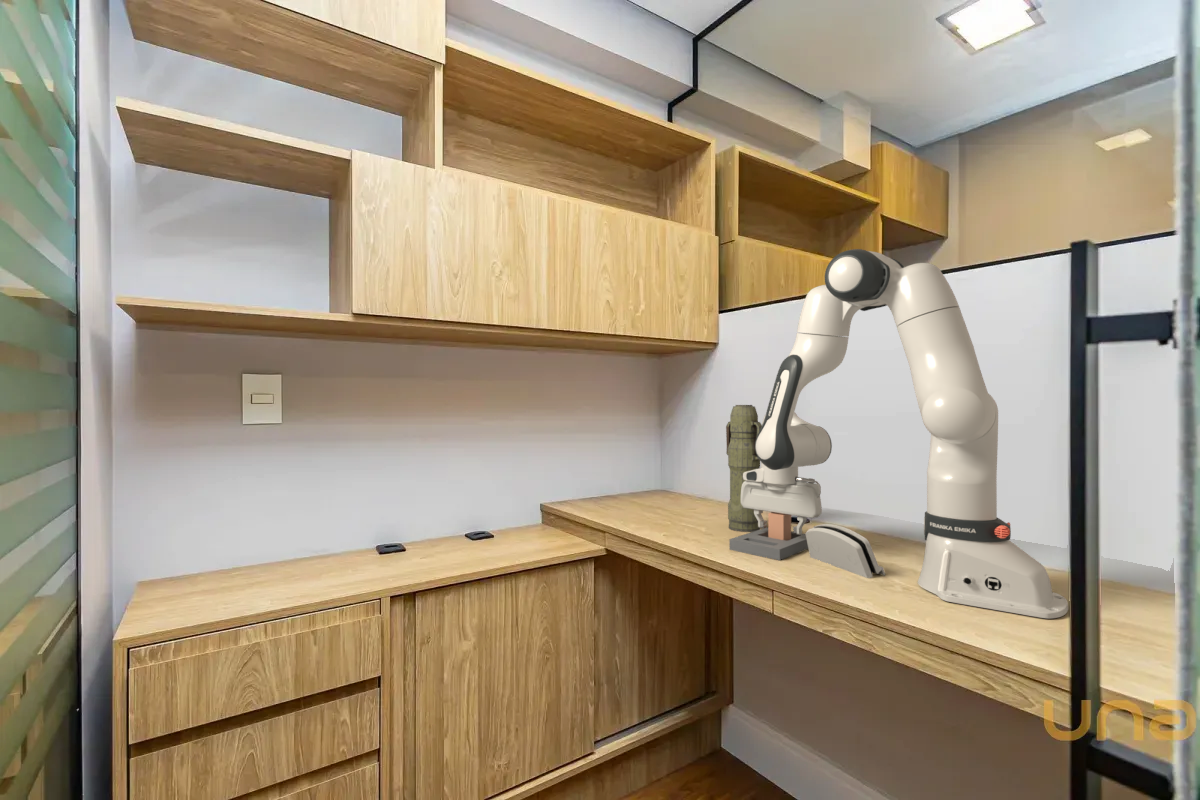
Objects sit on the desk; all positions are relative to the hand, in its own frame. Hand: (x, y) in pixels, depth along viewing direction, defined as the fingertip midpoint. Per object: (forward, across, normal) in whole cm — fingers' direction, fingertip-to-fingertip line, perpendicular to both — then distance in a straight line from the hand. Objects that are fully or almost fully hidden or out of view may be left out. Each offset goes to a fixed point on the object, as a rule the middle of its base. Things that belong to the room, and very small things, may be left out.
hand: (779, 530), depth 136 cm
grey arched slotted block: (+4, -18, +7) cm, 20 cm away
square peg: (+4, 0, 0) cm, 4 cm away
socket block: (+4, 0, +3) cm, 5 cm away
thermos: (+4, +16, -10) cm, 19 cm away
